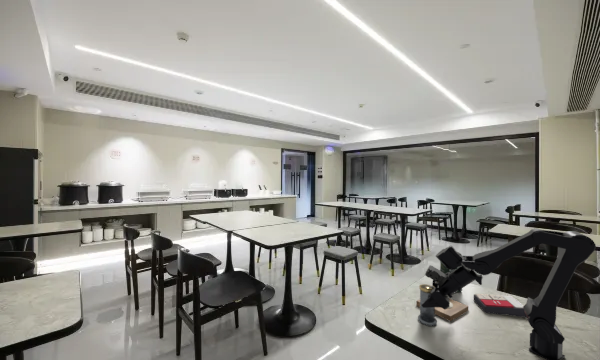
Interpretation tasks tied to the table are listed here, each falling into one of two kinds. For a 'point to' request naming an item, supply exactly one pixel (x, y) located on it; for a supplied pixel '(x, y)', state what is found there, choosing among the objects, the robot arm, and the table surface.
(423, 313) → the housing
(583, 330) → the table surface
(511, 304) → the red and white box
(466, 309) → the stand
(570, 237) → the robot arm
